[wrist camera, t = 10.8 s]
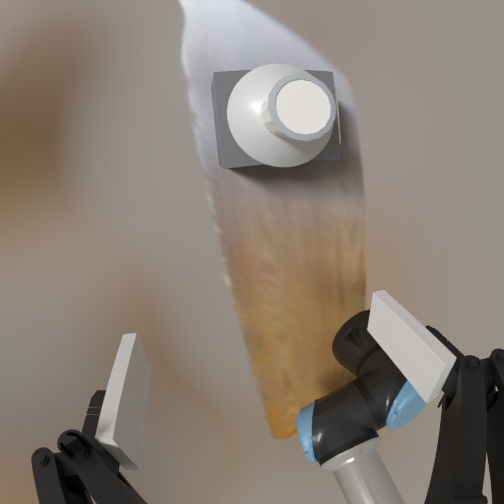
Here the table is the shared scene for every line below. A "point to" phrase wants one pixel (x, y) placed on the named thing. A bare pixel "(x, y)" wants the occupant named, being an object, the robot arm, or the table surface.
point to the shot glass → (298, 108)
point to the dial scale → (250, 125)
